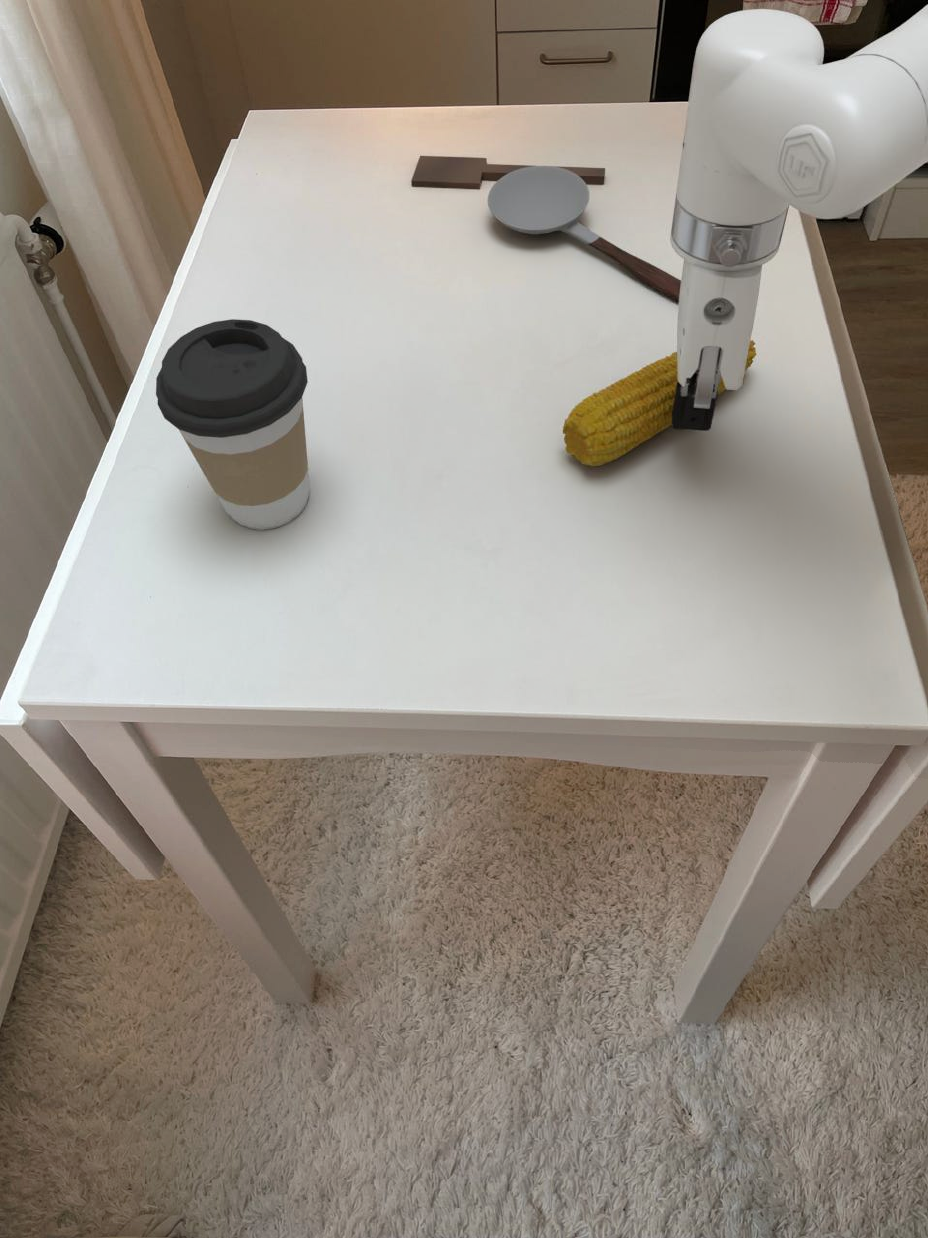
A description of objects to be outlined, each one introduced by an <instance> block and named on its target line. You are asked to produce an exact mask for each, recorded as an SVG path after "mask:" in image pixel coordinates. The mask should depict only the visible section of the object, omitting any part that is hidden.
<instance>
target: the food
mask: <svg viewBox="0 0 928 1238" xmlns="http://www.w3.org/2000/svg"><path fill="white" fill-rule="evenodd" d="M755 345H756V342H755V341H754V340H753V339H751V340H750V345H749V350H748V356H747V361H746V366H745V372H744V374H746V372H747V370H748V368H751V366H752V364H753V363H754V360H753V359H755V357H756V356H757V352H756V349H757V347H754V346H755ZM677 380H678V377H677V351H675V352H672V353H671V354H670V355H666V356H665V357H664V358H660V359H658V360H656V361H654V362H652V363H649V364H647V365H646V366H643V367H642V368H641V369H639V370H636V371H635V372H632V373H630V374H629V375H627V376H626V377H623V378H621V379H619V380H617V381H616V382H614V383H611V384H610V385H608V386H606V387H605V388H601V390H599V391H597V392H592V394H591V395H589V396H587V397H585V398H584V399H582V400H581V401H580V402H579V403H578V404H576V405H575V406H574V408H572V409H571V411H570V412H569V414H568V417H567V418H565V419H564V424H563V426H562V434H564V437H563V442H564V443H565V445H566V446H565V450H566V452H567V454H568V455H571V456H574V457H575V459H576V460H578V461H579V462H580V463H581V464H582V465H586V466H590V467H598V466H603V465H606V464H607V463H611V462H612V461H616V460H617V459H618V458H620V457H623V456H624V455H625V454H627V453H628V452H631V451H632V450H634V449H635V448H636V447H638V446H639V445H641V444H642V443H644V442H645V441H647V440H650V439H651V438H653V437H655V435H657V434H658V433H661V432H663V430H666V428H669V427H670V426H672V411H673V404H674V398H675V392H676V386H677ZM717 390H718V395H719V394H721V393H723V391H725V390H726V388H725V385H724V382H723V379H722V375H721V377H720V381H719V385H718V389H717Z"/></svg>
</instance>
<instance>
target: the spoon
mask: <svg viewBox="0 0 928 1238" xmlns="http://www.w3.org/2000/svg"><path fill="white" fill-rule="evenodd" d="M530 166H531V167H526V168H522V169H518V170H515V171H513V172H511V173H508V174H507V175H505V176H503V177H502V178H501V179H499V180H498V181H496V182H494V183H493V185H492V187H490V189H489V192H488V196H487V207H488V209H489V211H490V213H491V214H492V215H493V217H494V218H495V219H496V220H497V221H498V222H499V223H501V224H502V225H504V226H505V227H507V228H508V229H511V230H512V231H513V230H514V231H516V232H519V233H523V234H527V235H528V234H529V235H543V234H549V233H553V232H562V233H565V234H567V235H569V236H571V237H573V238H575V239H576V240H578V241H580V242H581V243H584V244H585V245H587V246H588V247H591V248H593V249H594V250H596V251H598V252H599V253H601V254H603V255H604V256H605V257H608V258H610V259H611V260H613V261H614V262H615V263H617V264H618V265H619V266H620V267H622V268H623V269H625V270H626V271H628V272H629V273H630V274H632V275H633V276H635V277H636V278H637V279H639V280H641V281H642V282H643V283H645V284H647V285H649V286H650V287H652V288H653V289H655V290H657V291H658V292H660V293H662V294H663V295H665V296H667V297H669V298H671V299H673V300H674V301H676V302H678V303H679V295H680V286H681V279H679V278H677V277H675V276H674V275H672V274H670V273H669V272H666V271H665V270H663V269H661V268H659V267H657V266H656V265H654V264H651V263H649V262H647V261H646V260H643V259H641V258H639V257H638V256H635V255H633V254H631V253H629V252H628V251H625V250H623V249H622V248H620V247H618V246H617V245H615V244H614V243H612V242H610V241H609V240H607V239H605V238H604V237H602V236H600V235H599V234H598V233H595V232H594V231H592V230H590V229H589V228H587V227H586V226H585V225H583V224H582V223H580V222H579V220H578V218H579V217H580V216H581V215H582V214H583V213H584V211H585V210H586V208H587V206H588V205H589V201H590V190H589V187H588V184H586V183H585V182H584V181H583V180H582V179H581V178H580V177H579V176H578V175H576V174H575V173H573V172H571V171H569V170H566V169H563V168H559V167H560V166H559V167H554V166H555V165H530Z"/></svg>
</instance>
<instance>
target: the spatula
mask: <svg viewBox="0 0 928 1238" xmlns="http://www.w3.org/2000/svg"><path fill="white" fill-rule="evenodd" d="M487 161H488V159H487V157H472V156H469V157H468V156H439V155H420V156H419V158H418V160H417V163H416V167H415V169H414V172H413V175H412V178H411V187H419V188H420V187H424V188H450V189H473V190H474V189H475V190H480V189H481V187H482V183H483V181H496V182H497V181H498V180H499V179H501V178H502V177H503V176H505V175H507V174H508V173H511V172H513V171H515V170H518V169H522V168H526V167H531V166H532V165H530V164H529V165H527V164H526V165H525V164H503V163H502V164H498V163H488V162H487ZM553 166H554V167H559V168H563V169H566V170H569V171H571V172H573V173H575V174H576V175H578V176H579V177H580V178H581V179H582V180H583V181H584V182H585V183H586V185H605V179H606V168H605V167H589V166H588V167H586V166H585V167H584V166H555V165H553Z"/></svg>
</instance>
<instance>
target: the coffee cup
mask: <svg viewBox="0 0 928 1238" xmlns="http://www.w3.org/2000/svg"><path fill="white" fill-rule="evenodd" d="M307 371H308V370H307V366H306V364H305V363H304V361H303V357H302V355H301V354H300V353H299V352H298V350H297V348H296V347H295V345H294V344H293V343H292V342H290V341H288V340H287V339H285V337H283V336H282V335H281V333H280V332H278V331H277V330H275V329H274V328H272V327H271V326H269V325H268V324H264V323H262V322H259V321H254V320H250V319H249V320H248V319H235V318H234V319H233V318H231V319H225V320H217V321H212V322H209V323H207V324H203V325H201V326H197V327H196V328H193V329H192V330H190V331H188V332H187V333H185V334H183V335H181V336H179V338H178V339H177V340H175V342H174V343H173V344H172V345H171V346H170V347H169V348H167V350H166V352H165V355H164V357H163V359H162V361H161V368H160V370H159V372H158V374H157V376H156V377H155V378H156V381H155V384H156V385H155V396H156V398H157V406H158V408H159V410H160V412H161V414H162V416H163V418H164V419H165V420H166V421H167V422H169V424H171V425H172V426H174V427H175V428H176V429H177V430H178V431H179V433H180V435H181V437H182V438H183V439H184V442H185V444H186V445H187V447H188V448H189V450H190V453H192V456H193V457H194V460H195V461H196V462H197V464H198V466H199V468H200V470H201V471H202V473H203V474H204V475H203V476H205V478H206V480H207V482H208V483H209V485H210V487H211V488H212V490H213V492H214V493H215V495H216V497H217V499H218V500H219V502H220V504H221V506H222V508H223V509H224V511H225V513H226V514H227V515H229V516H230V517H231V519H232V520H233V521H235V523H237V524H238V525H239V526H242V527H244V528H247V529H249V530H258V531H265V530H270V529H271V530H272V529H277V528H280V527H282V526H285V525H287V524H289V523H291V522H292V521H294V520H295V519H296V518H297V517H299V516H300V515H301V513H303V511H304V509H305V508H306V507H307V504H308V501H309V493H310V490H311V487H310V475H309V462H308V450H307V449H308V448H307V439H306V427H305V426H306V425H305V413H304V412H305V411H304V399H303V396H304V394H305V391H306V387H307V385H308V383H309V382H308V372H307Z"/></svg>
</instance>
